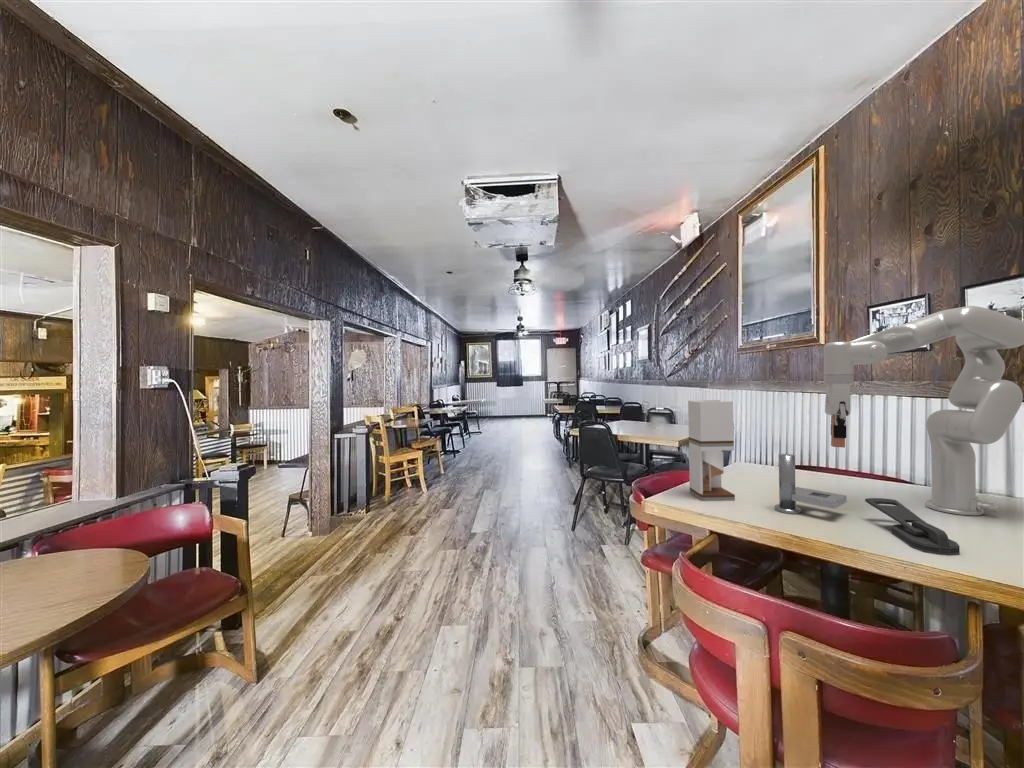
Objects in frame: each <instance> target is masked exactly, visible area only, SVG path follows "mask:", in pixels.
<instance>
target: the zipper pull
mask: <svg viewBox="0 0 1024 768" xmlns="http://www.w3.org/2000/svg"><path fill="white" fill-rule="evenodd" d="M864 502H865V503H867V504H869V505H870V506H872V507H874V508H875V509H877V510H878V511H879V512H882V513H883V514H884V515H885V516H888V517H890V519H892V520H894V521H895V522H897V524H892V525H891V527H890V531H891V532H890V533H891V534H892V535H893V536H894V537H896V538H898V539H899V540H900V541H901V542H903V543H905V544H907V546H909V547H911V549H913V550H918V551H920V552H923V553H927V554H933V555H940V556H959V555H960V554H961V553H960V551H961V549H960V544H959V543H958V542H957V541H955V540H953V539H950V538H949V537H948V534H947V533H946V531H945V530H942V529H940V528H939V527H937V526H934V525H932V524H931V523H928V522H927V521H925V520H923V519H922V518H921V517H919V516H918V515H917V514H915V513H914V512H912V511H911V510H910V509H908V508H907V507H906V506H905V505H903V504H902V503H901V502H900V501H898V500H897V499H894V498H893V499H892V498H884V497H883V498H881V497H879V498H877V497H868V498H867V497H866V498H865V500H864Z"/></svg>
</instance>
